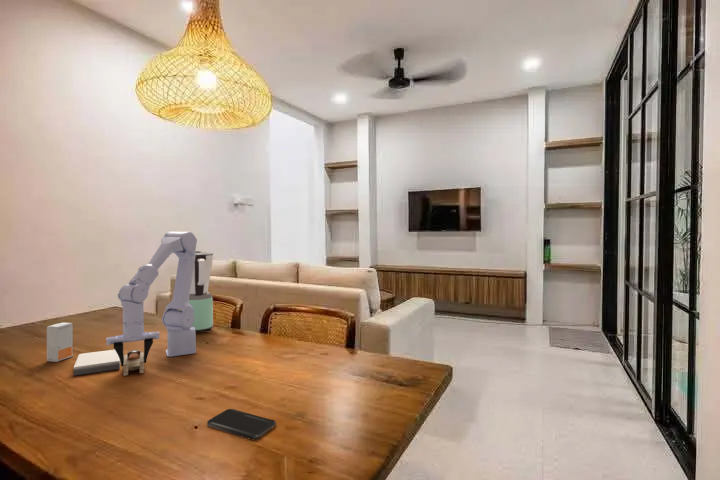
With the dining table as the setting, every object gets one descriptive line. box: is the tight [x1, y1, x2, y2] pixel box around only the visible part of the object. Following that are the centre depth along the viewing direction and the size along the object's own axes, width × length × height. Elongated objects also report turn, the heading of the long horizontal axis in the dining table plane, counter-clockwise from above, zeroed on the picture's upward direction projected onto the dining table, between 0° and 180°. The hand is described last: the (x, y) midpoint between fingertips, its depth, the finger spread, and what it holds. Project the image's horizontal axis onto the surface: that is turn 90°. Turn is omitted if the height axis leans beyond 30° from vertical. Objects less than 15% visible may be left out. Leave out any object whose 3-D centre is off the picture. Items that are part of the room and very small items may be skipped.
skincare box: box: [46, 322, 74, 363], centre depth 134 cm, size 6×4×12 cm
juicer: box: [180, 250, 214, 333], centre depth 169 cm, size 19×13×35 cm
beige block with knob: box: [122, 351, 145, 376], centre depth 124 cm, size 6×10×4 cm, turn 30°
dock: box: [72, 349, 121, 376], centre depth 128 cm, size 12×15×2 cm
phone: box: [206, 408, 277, 440], centre depth 91 cm, size 8×1×15 cm
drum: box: [126, 349, 141, 360], centre depth 124 cm, size 4×4×2 cm
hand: (133, 363), depth 124 cm, fingers closed on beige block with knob, 5 cm apart
